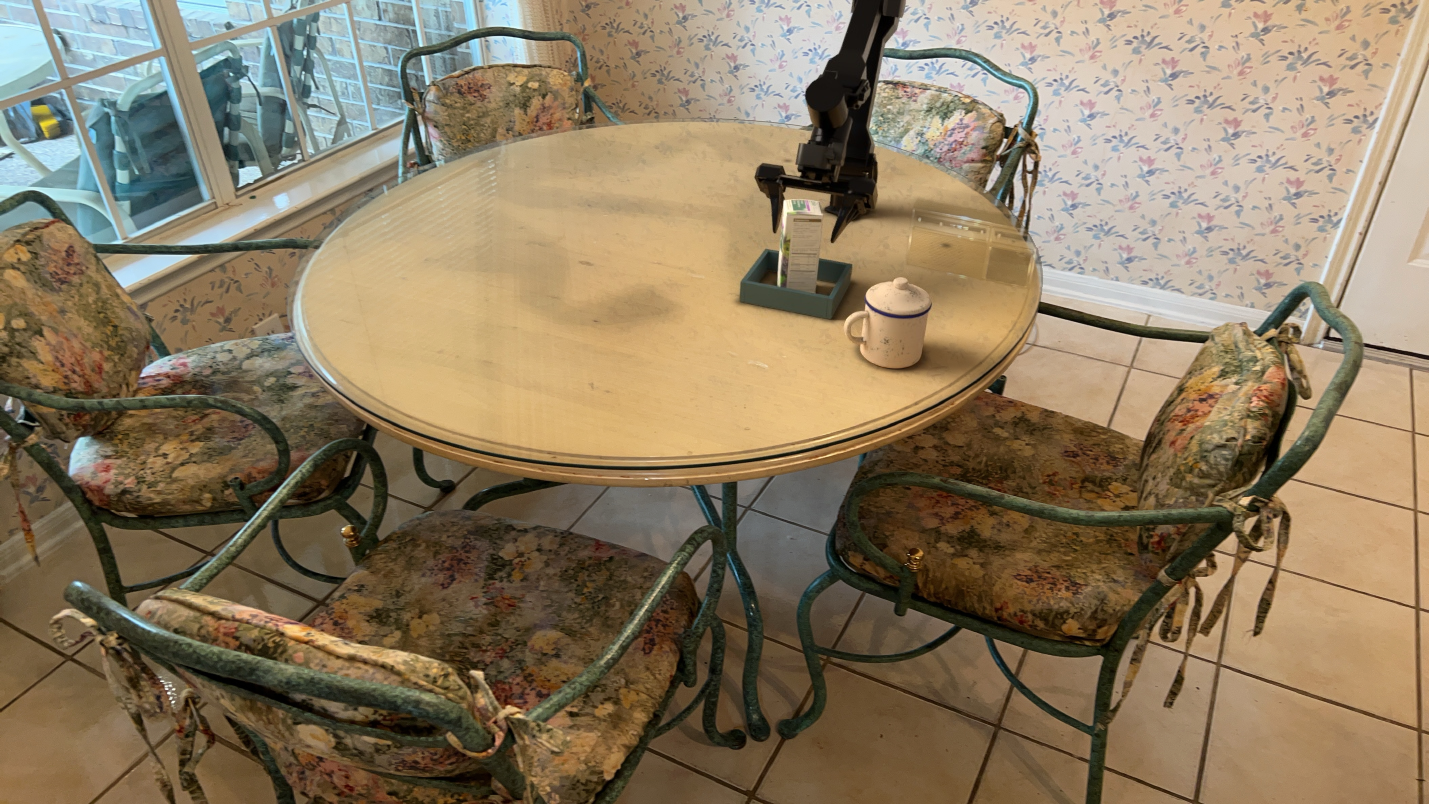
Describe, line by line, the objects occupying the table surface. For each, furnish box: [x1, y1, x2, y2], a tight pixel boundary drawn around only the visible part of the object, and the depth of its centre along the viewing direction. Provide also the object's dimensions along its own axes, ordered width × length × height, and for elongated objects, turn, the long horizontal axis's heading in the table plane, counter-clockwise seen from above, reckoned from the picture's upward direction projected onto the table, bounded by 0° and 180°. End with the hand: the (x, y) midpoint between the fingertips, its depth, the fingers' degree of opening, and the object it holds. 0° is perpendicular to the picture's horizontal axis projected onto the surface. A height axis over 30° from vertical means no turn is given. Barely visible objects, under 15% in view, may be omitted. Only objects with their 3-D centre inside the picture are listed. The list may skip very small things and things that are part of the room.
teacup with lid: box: [843, 276, 933, 369], centre depth 125 cm, size 12×9×12 cm
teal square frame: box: [739, 248, 853, 320], centre depth 142 cm, size 13×15×4 cm
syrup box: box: [776, 198, 824, 293], centre depth 138 cm, size 6×6×14 cm
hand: (802, 237), depth 139 cm, fingers open, 9 cm apart
